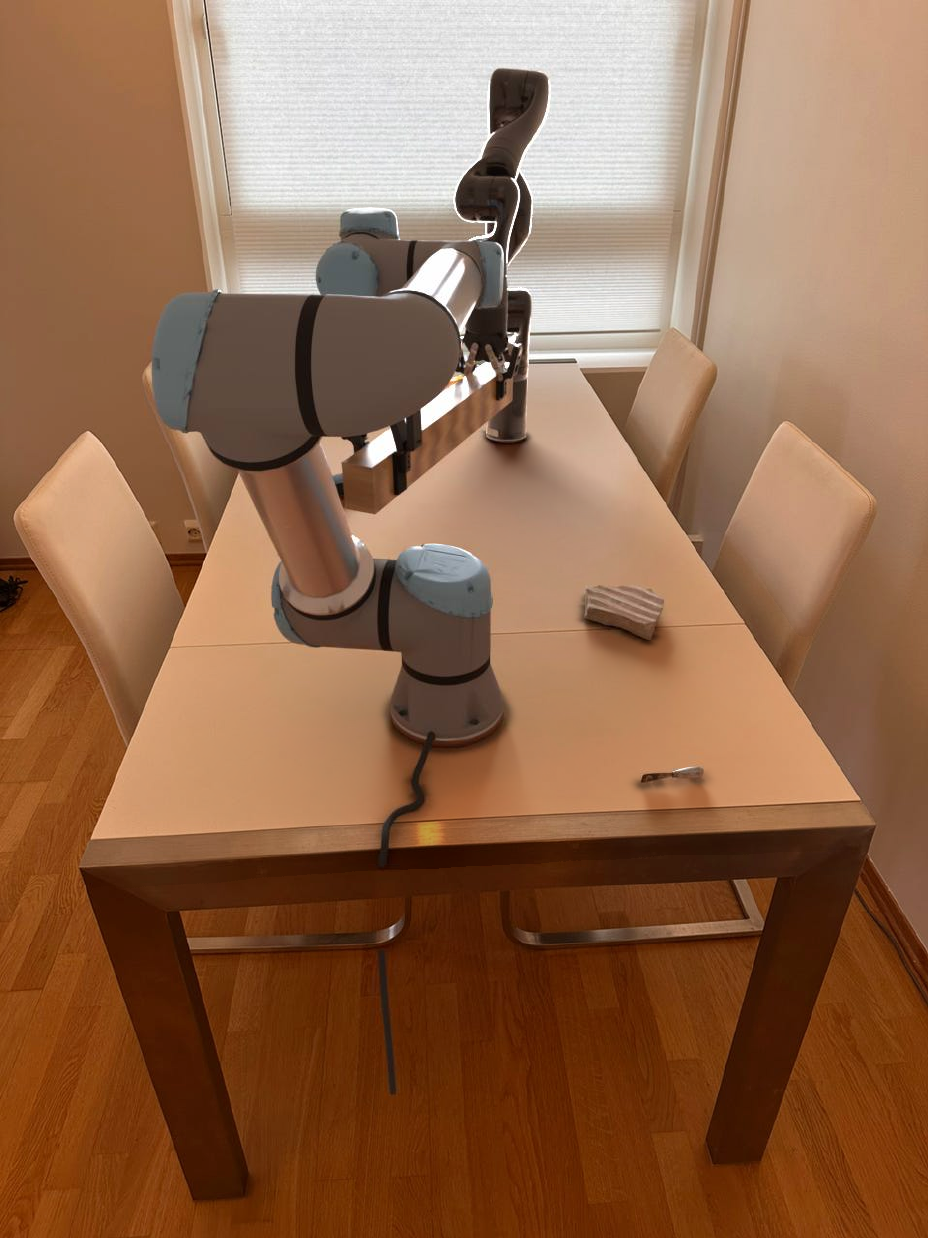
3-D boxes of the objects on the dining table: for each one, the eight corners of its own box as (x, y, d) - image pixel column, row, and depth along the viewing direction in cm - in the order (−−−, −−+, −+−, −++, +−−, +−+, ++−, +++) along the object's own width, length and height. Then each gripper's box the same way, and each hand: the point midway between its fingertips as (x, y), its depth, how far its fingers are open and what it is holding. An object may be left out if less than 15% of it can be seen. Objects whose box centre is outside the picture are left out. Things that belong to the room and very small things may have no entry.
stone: (668, 604, 144) (670, 590, 143) (652, 641, 135) (653, 627, 134) (591, 589, 149) (592, 576, 147) (570, 625, 139) (570, 611, 138)
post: (375, 514, 129) (372, 467, 125) (345, 508, 131) (341, 462, 127) (512, 400, 171) (513, 362, 167) (488, 397, 173) (488, 360, 169)
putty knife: (703, 777, 109) (705, 767, 109) (642, 788, 108) (644, 777, 107) (700, 772, 110) (702, 762, 109) (639, 782, 109) (640, 771, 108)
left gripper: (446, 332, 122) (448, 489, 135) (334, 319, 129) (345, 470, 141) (420, 345, 117) (425, 508, 129) (304, 331, 123) (319, 487, 135)
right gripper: (532, 301, 156) (529, 396, 165) (457, 294, 161) (458, 386, 170) (517, 310, 150) (514, 408, 159) (439, 303, 155) (441, 398, 164)
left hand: (383, 488), depth 135 cm, fingers closed on post, 5 cm apart
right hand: (485, 397), depth 165 cm, fingers closed on post, 5 cm apart
